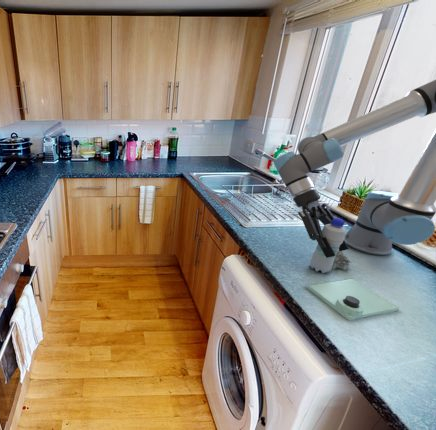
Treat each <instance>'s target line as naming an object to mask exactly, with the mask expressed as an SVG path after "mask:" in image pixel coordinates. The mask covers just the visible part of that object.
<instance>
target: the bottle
mask: <svg viewBox="0 0 436 430" xmlns="http://www.w3.org/2000/svg"><path fill="white" fill-rule="evenodd" d="M344 226H345V221H344V219H342V218H339V217H335V218H334V219H332V221H331V224H326V225H325V226H324V225H323V227H322V228H321V231H322V234H323V237H326V239H327V241H328V242H329V244H330V246H331V248H332V249H333V251H334V253H335V255H336V254H337V252H338V250H339V247H340V245H341V244H342V243H343V240H344V238H345V234H346V233H347V230H346V228H345V227H344ZM335 257H336V256H332V257H328V258H326V256H325V255H324V253H323V251H322V249H321V247H320V246H319V244H318V243H317V245H316V247H315V250H314V252H313V255H312V257H311V259H310V263H309V264H310V268H311V270H314V271H315V272H319V271H320V273H321V274H325V273H329V272H330V271H332V266H333V263H334V259H335Z"/></svg>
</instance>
